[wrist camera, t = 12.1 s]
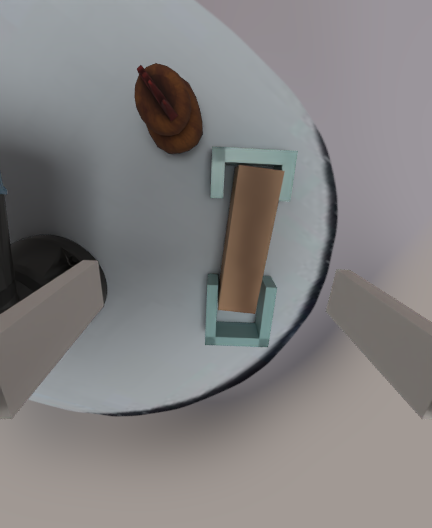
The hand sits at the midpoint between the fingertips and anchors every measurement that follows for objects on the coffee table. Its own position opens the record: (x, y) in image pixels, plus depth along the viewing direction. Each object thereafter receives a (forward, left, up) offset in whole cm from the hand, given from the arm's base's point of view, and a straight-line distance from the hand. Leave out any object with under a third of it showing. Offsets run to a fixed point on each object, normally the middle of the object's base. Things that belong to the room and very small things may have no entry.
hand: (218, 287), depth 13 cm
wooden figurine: (-5, +12, -21) cm, 25 cm away
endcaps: (+4, -4, -21) cm, 22 cm away
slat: (+4, -2, -21) cm, 22 cm away
